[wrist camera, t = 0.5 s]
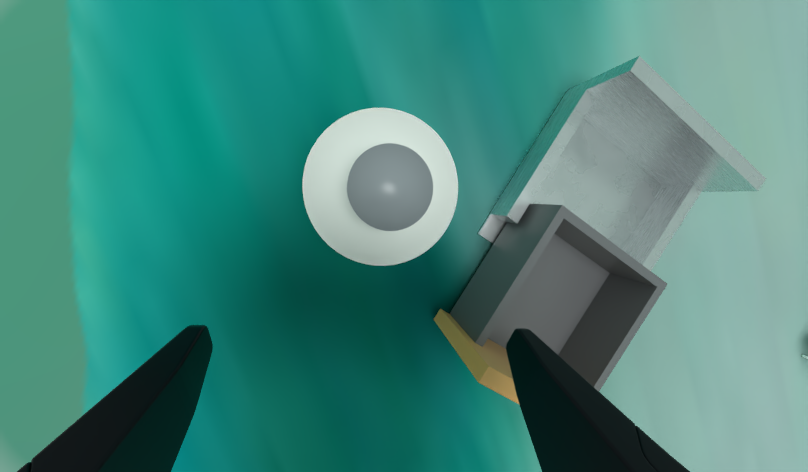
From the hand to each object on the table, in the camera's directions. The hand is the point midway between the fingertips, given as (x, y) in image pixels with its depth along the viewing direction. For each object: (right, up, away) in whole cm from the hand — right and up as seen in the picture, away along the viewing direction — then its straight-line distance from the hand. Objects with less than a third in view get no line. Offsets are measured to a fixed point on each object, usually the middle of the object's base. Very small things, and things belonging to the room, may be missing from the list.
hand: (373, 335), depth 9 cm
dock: (+16, +5, +17) cm, 24 cm away
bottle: (-2, +6, +13) cm, 15 cm away
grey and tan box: (+11, -1, +17) cm, 20 cm away
